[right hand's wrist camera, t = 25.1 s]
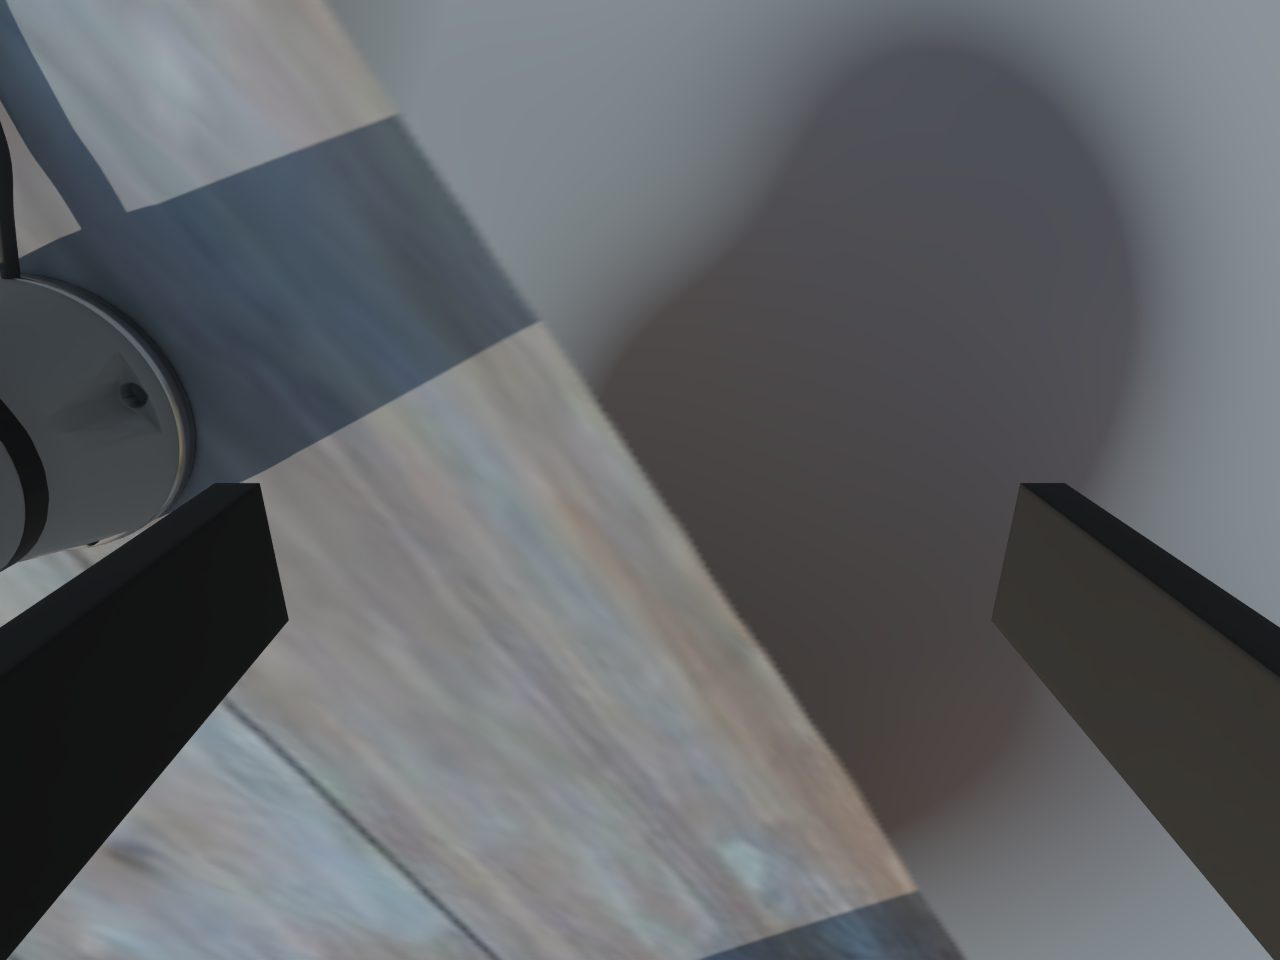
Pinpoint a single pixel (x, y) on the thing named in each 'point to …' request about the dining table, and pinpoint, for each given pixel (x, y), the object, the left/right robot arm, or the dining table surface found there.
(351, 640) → the dining table surface
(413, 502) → the dining table surface
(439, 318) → the dining table surface
